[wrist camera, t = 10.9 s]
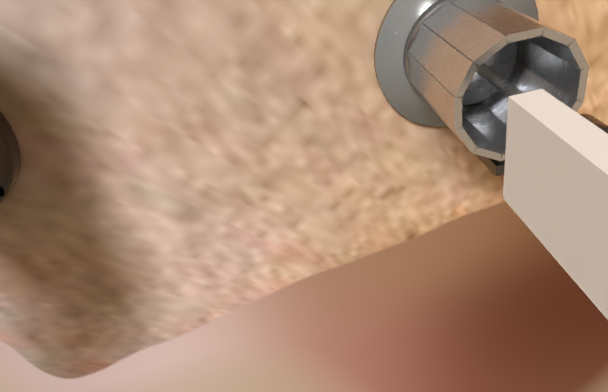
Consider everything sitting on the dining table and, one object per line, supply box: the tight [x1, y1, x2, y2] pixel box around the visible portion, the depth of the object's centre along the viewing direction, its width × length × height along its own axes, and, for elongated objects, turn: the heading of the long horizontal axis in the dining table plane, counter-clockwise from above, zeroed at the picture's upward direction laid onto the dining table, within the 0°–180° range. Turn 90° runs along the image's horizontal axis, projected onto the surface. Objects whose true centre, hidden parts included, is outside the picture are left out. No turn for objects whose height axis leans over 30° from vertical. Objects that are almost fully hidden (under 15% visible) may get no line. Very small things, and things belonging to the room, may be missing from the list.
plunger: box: [462, 42, 608, 134], centre depth 38 cm, size 8×8×19 cm
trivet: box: [374, 0, 539, 127], centre depth 49 cm, size 16×16×1 cm
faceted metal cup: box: [403, 0, 589, 176], centre depth 44 cm, size 11×13×12 cm
